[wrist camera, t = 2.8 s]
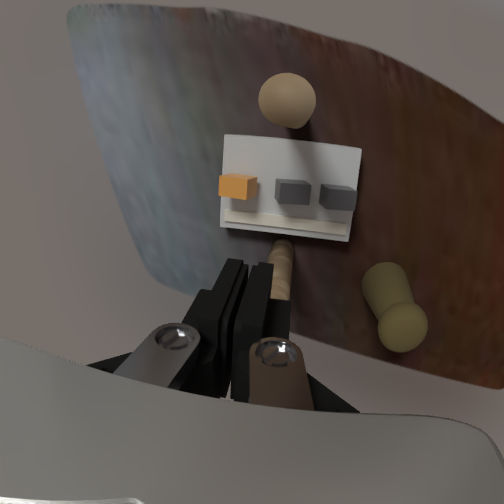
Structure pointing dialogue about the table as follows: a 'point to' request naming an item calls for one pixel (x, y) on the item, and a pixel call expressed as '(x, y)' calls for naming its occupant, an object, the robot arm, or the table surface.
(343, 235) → the panel
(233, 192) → the orange block
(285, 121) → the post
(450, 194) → the table surface
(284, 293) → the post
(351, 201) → the grey block
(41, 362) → the robot arm
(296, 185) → the grey block
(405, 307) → the cork
